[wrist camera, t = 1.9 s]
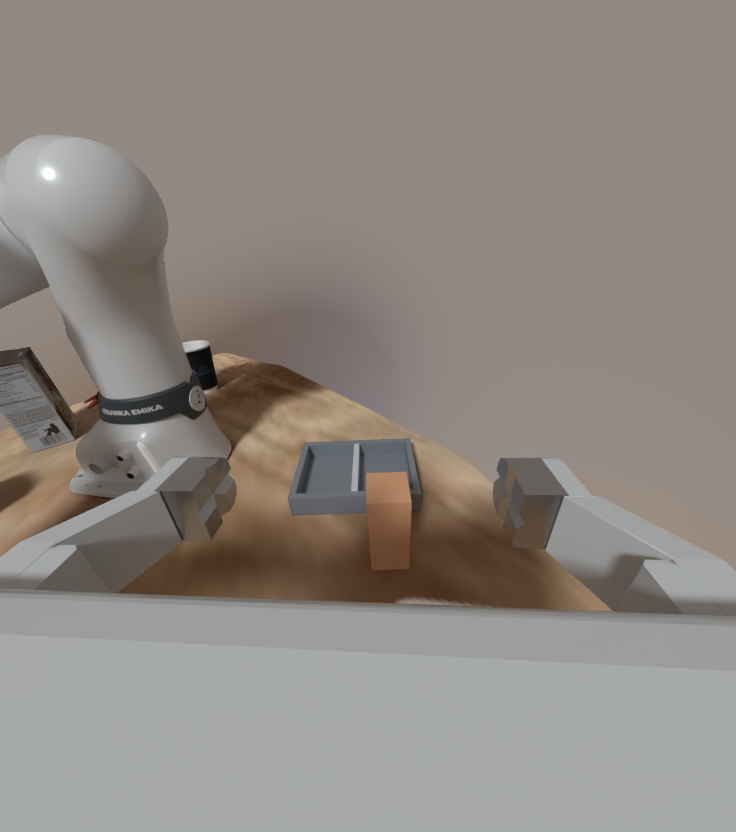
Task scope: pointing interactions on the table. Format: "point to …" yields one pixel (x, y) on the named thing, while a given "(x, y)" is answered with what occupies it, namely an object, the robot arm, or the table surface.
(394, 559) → the block
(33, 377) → the coffee box
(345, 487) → the organiser
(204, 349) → the dixie cup
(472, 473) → the table surface
